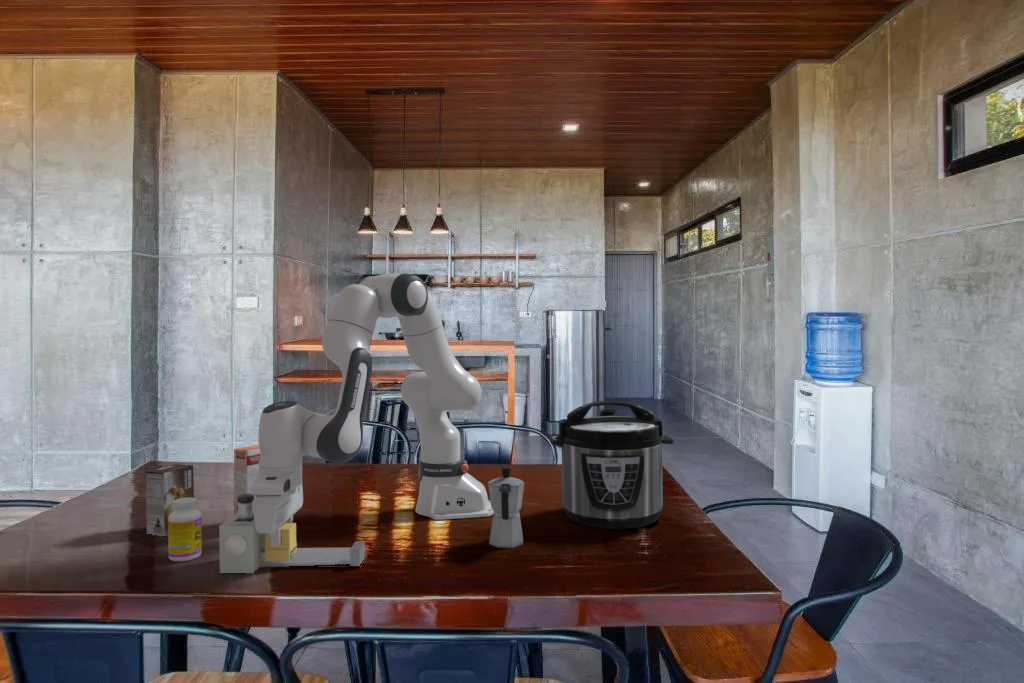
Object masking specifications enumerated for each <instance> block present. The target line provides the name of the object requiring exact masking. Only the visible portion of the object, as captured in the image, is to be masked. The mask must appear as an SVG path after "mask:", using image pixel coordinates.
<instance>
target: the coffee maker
mask: <svg viewBox="0 0 1024 683" xmlns="http://www.w3.org/2000/svg"><path fill="white" fill-rule="evenodd" d="M500 469H501V475H502V476H500V477H496V478H493V479H491V480H489V481H487V485H488V492H489V493H488V494H489V499H490V501H491V508H492V509H493V514H492V521H491V528H490V535H489V542H488V545H491V546H493V547H496V548H498V549H500V548H501V549H502V548H503V549H504V548H505V549H514V548H516V547H520V546H522V545H524V536H523V529H522V524H521V515H520V510H521V509H522V507H523V506H522V505H523V497H524V490H525V482H524V481H523V480H521V479H520V478H517V477H511V476H510V475H511V469H512V467H510V466H502V467H501V468H500Z"/></svg>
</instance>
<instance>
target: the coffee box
mask: <svg viewBox="0 0 1024 683" xmlns="http://www.w3.org/2000/svg"><path fill="white" fill-rule="evenodd" d="M194 478H195V477H194V464H193V465H192V464H179V463H174V464H170V465H166V466H161V467H158V468H153V469H149V470H146V471H145V506H146V508H145V509H146V514H145V515H146V534H147V535H148V534H152V535H151V536H155V535H157V536H158V537H162V536H166V537H168V517H169V515H170V514H171V513H172V512H173V511H174V507H173V501H174V500H176V499H180V498H195V489H194V488H195V486H194V485H195V483H194V481H195V480H194ZM157 536H156V537H157Z"/></svg>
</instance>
